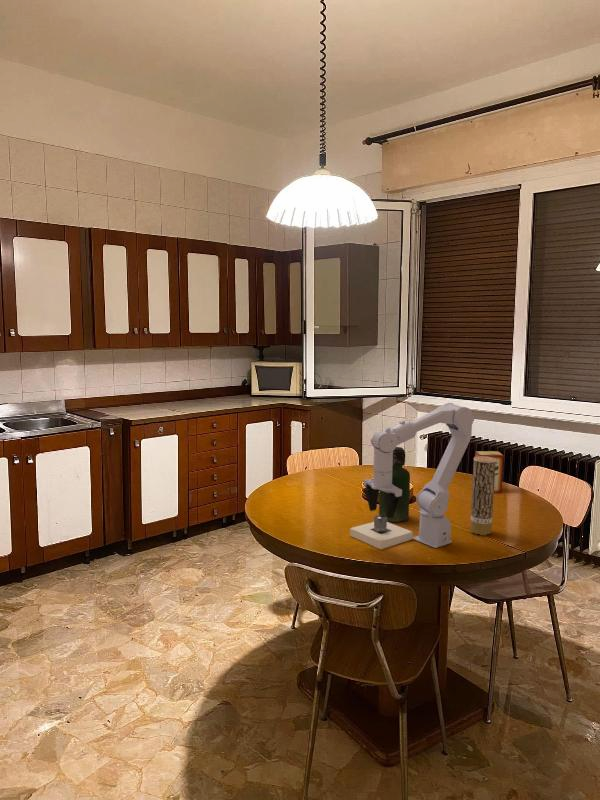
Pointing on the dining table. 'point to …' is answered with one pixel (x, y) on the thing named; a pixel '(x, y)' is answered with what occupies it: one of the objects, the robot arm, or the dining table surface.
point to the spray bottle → (400, 481)
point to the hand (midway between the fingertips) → (381, 513)
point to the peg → (380, 524)
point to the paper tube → (482, 495)
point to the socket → (381, 535)
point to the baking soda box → (498, 467)
